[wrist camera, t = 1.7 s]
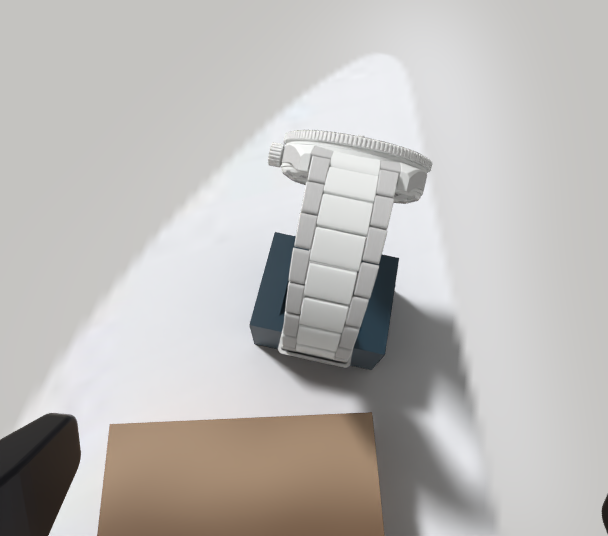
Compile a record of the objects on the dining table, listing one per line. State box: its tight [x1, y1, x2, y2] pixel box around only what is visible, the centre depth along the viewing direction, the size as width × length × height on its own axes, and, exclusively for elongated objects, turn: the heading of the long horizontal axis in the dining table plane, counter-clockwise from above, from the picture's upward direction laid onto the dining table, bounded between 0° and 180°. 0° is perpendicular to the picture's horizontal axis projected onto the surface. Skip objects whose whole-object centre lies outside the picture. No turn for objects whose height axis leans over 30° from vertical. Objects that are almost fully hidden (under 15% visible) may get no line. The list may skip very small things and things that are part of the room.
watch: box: [250, 130, 432, 370], centre depth 17 cm, size 6×8×11 cm
